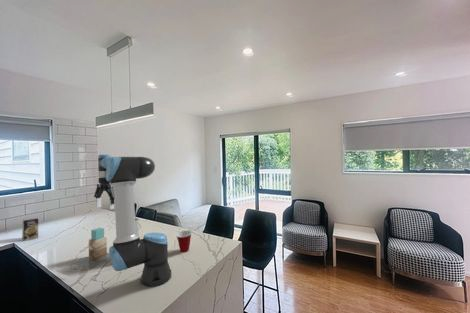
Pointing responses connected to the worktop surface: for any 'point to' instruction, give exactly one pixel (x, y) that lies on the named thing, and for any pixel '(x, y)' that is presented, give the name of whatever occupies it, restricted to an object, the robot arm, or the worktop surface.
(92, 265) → the slate board
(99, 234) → the teal block
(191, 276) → the worktop surface
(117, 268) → the robot arm
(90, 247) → the beech block
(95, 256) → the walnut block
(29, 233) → the coffee box
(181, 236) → the plastic cup
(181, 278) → the worktop surface
